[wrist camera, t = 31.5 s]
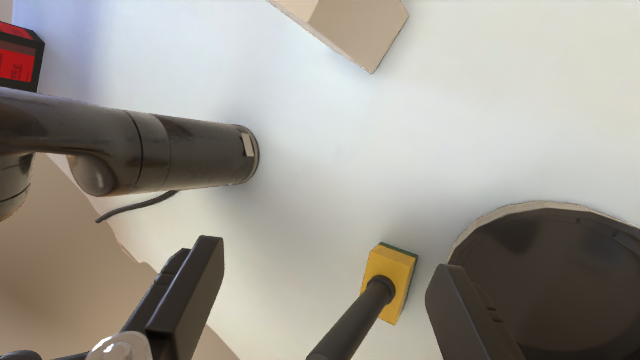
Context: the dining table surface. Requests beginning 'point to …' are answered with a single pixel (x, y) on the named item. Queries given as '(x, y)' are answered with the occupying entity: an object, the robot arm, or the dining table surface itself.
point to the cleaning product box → (19, 57)
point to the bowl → (558, 278)
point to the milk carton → (349, 25)
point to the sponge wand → (370, 302)
